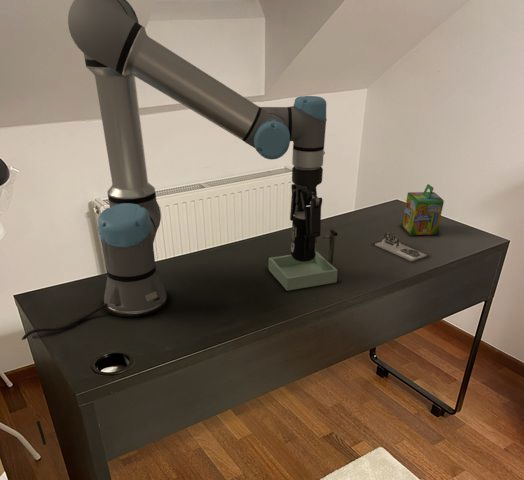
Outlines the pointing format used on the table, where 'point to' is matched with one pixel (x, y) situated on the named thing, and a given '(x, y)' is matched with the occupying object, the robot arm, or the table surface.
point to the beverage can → (299, 237)
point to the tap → (331, 245)
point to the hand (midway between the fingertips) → (303, 253)
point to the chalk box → (422, 212)
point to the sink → (302, 272)
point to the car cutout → (399, 247)
